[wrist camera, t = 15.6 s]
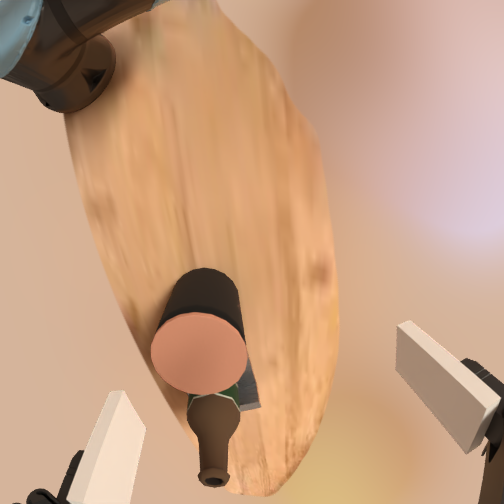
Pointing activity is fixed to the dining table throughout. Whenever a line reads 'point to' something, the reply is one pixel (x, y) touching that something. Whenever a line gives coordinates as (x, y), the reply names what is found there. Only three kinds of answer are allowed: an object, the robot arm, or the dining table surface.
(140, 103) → the dining table surface
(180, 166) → the dining table surface
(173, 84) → the dining table surface
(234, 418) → the beer bottle
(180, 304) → the coffee jar
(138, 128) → the dining table surface
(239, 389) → the bracket
